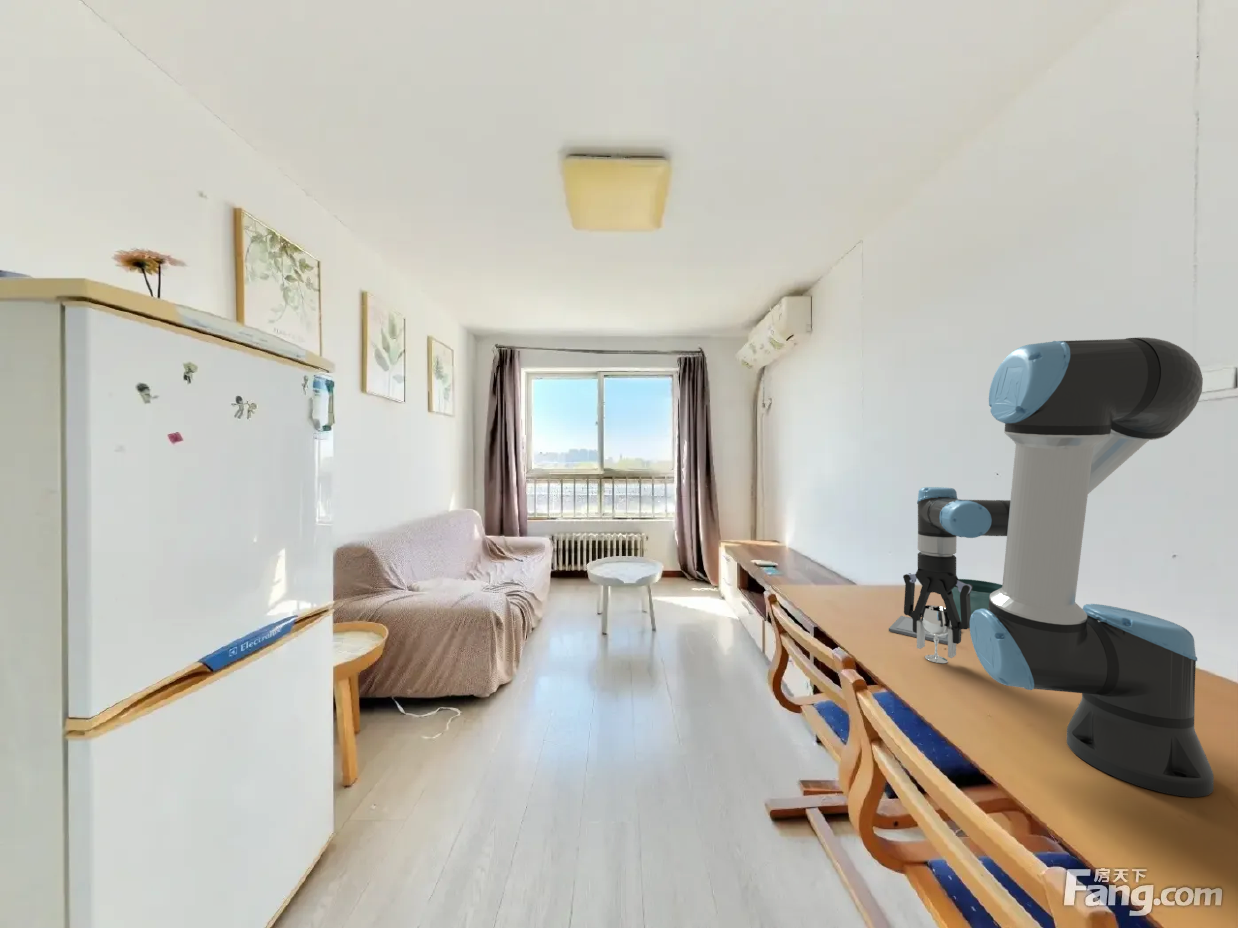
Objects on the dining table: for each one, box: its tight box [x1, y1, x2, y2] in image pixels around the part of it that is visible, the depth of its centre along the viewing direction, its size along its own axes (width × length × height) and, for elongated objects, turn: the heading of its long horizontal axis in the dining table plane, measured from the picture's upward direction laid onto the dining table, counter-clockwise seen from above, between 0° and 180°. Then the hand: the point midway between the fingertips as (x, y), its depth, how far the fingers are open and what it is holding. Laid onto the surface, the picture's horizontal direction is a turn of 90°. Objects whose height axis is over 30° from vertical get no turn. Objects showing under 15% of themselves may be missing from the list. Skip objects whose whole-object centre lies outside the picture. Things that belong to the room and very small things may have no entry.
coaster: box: [888, 615, 952, 645], centre depth 127 cm, size 14×14×1 cm
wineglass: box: [921, 604, 952, 664], centre depth 109 cm, size 6×6×12 cm
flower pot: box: [952, 578, 1002, 621], centre depth 133 cm, size 16×16×11 cm
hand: (936, 651), depth 109 cm, fingers closed on wineglass, 6 cm apart
